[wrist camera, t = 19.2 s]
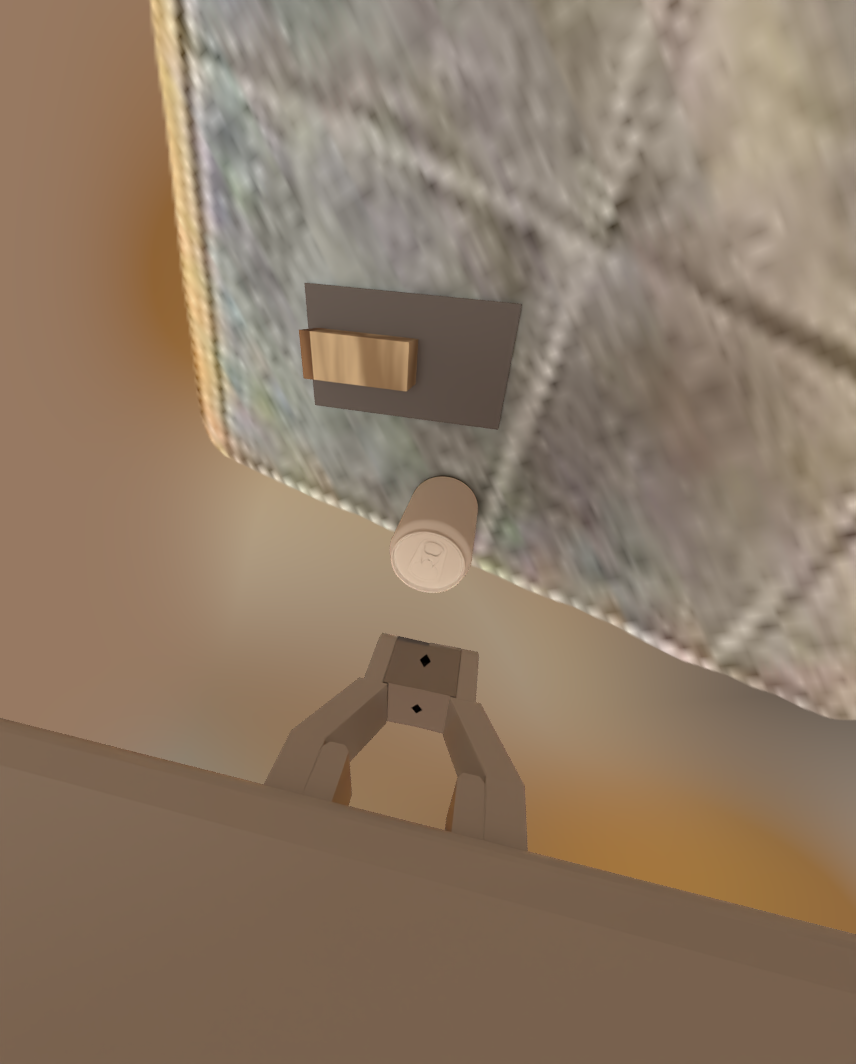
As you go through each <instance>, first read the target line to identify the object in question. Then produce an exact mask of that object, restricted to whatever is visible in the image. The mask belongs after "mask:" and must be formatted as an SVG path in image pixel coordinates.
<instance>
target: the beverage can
mask: <svg viewBox="0 0 856 1064" xmlns="http://www.w3.org/2000/svg"><path fill="white" fill-rule="evenodd" d="M477 514H478V504H477V500H476V497H475V495H474V493H473V492H472V490H471V489H470V488H469V487H468V486H467V485H466V484H464V483H463V482H461V481H459V480H457V479H454V478H451V477H434V478H431V479H428V480H426V481H424V482H423V483H421V484H420V485H419V486H418V487H417V489H416V490H415V492H414V493H413V496H412V498H411V500H410V502H409V504H408V506H407V508H406V510H405V512H404V514H403V516H402V518H401V520H400V522H399V524H398V527H397V529H396V531H395V533H394V535H393V537H392V540H391V543H390V557H391V564H392V567H393V570H394V572H395V573H396V575H397V576H398V577H399V579H400V580H401V581H402V582H404V583H405V584H406V585H408V586H410V587H411V588H413V589H416V590H419V591H422V592H428V593H438V592H444V591H447V590H449V589H451V588H453V587H454V586H456V585H457V584H458V583H459V582H460V581H461V579H462V578H463V577H464V576H465V575H466V574H467V572H468V570H469V568H470V566H471V561H472V554H473V546H474V538H475V530H476V522H477Z"/></svg>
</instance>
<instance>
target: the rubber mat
mask: <svg viewBox="0 0 856 1064" xmlns="http://www.w3.org/2000/svg"><path fill="white" fill-rule="evenodd" d="M305 293H306V305H307V317H308V328H309V329H312V328H324V329H333V330H342V331H351V332H360V333H369V334H378V335H387V336H396V337H405V338H414V339H418V354H417V370H416V384H415V385H414V386H412V387H411V388H410V389H409V390H408V391H399V390H391V389H383V388H375V387H368V386H360V385H352V384H344V383H336V382H329V381H321V380H313V386H314V397H315V405H319V406H327V407H334V408H341V409H349V410H356V411H364V412H371V413H379V414H386V415H393V416H401V417H408V418H416V419H423V420H431V421H438V422H445V423H453V424H460V425H468V426H475V427H482V428H490V429H497V430H498V427H499V422H500V416H501V411H502V406H503V401H504V395H505V390H506V385H507V380H508V375H509V369H510V364H511V359H512V354H513V348H514V343H515V338H516V333H517V327H518V322H519V317H520V312H521V306H522V304H515V303H505V302H494V301H484V300H474V299H464V298H453V297H443V296H433V295H423V294H412V293H402V292H392V291H382V290H372V289H361V288H351V287H341V286H331V285H320V284H310V283H305Z"/></svg>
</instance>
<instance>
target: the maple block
mask: <svg viewBox="0 0 856 1064" xmlns="http://www.w3.org/2000/svg"><path fill="white" fill-rule="evenodd" d="M299 336H300V346H301V356H302V366H303V376H304V378H305V379H313V380H321V381H329V382H336V383H344V384H352V385H360V386H368V387H375V388H383V389H391V390H399V391H408V390H409V389H410V388H411V387H412V386H414V385H415V384H416V370H417V354H418V339H414V338H405V337H396V336H387V335H378V334H369V333H360V332H351V331H342V330H333V329H324V328H312V329H303V330H299Z"/></svg>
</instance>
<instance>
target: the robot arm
mask: <svg viewBox="0 0 856 1064" xmlns="http://www.w3.org/2000/svg"><path fill="white" fill-rule="evenodd" d="M478 659H479V654H478V652H475V651H470V650H465V649H461V648H456V647H450V646H446V645H440V644H435V643H426V642H422V641H417V640H413V639H409V638H404V637H400V636H395V635H390V634H385V633H382V634H381V636H380V637H379V640H378V642H377V645H376V648H375V651H374V653H373V656H372V658H371V661H370V664H369V667H368V669H367V672H366V674H365V677H364V678H358V679H357V680H356V681H354V682H353V683H352V684H350V685H349V686H348V687H347V688H345V689H344V690H343V691H341V692H340V693H339V694H337V695H336V696H335V697H334V698H332V699H331V700H330V701H328V702H327V703H326V704H325V705H323V706H322V707H321V708H319V709H318V710H317V711H316V712H314V713H313V714H312V715H310V716H309V717H308V718H307V719H305V720H304V721H303V722H301V723H300V724H299V725H298V726H296V727H295V728H294V729H292V730H291V732H290V734H289V736H288V738H287V740H286V742H285V744H284V746H283V747H282V750H281V752H280V754H279V755H278V758H277V759H276V761H275V763H274V765H273V767H272V769H271V771H270V773H269V775H268V777H267V779H266V781H265V783H264V784H260V783H256V782H252V781H248V780H244V779H240V778H236V777H232V776H228V775H224V774H220V773H216V772H212V771H208V770H204V769H200V768H197V767H193V766H188V765H185V764H181V763H177V762H173V761H168V760H165V759H160V758H157V757H153V756H149V755H145V754H141V753H137V752H133V751H129V750H125V749H121V748H117V747H113V746H110V745H105V744H101V743H97V742H93V741H90V740H85V739H82V738H78V737H74V736H70V735H66V734H62V733H58V732H54V731H50V730H46V729H42V728H38V727H34V726H30V725H26V724H22V723H18V722H14V721H10V720H6V719H2V718H0V1064H856V934H852V933H848V932H844V931H840V930H836V929H832V928H828V927H824V926H820V925H817V924H813V923H809V922H805V921H801V920H797V919H793V918H789V917H785V916H781V915H777V914H773V913H769V912H765V911H761V910H757V909H753V908H749V907H745V906H742V905H738V904H734V903H730V902H726V901H722V900H718V899H714V898H710V897H706V896H702V895H698V894H694V893H690V892H686V891H682V890H678V889H674V888H670V887H667V886H663V885H659V884H655V883H651V882H647V881H643V880H639V879H634V878H631V877H627V876H623V875H619V874H615V873H611V872H607V871H603V870H599V869H596V868H592V867H587V866H584V865H580V864H575V863H572V862H568V861H564V860H560V859H556V858H552V857H548V856H544V855H540V854H536V853H532V852H528V850H527V849H528V848H527V828H526V805H525V786H524V784H523V782H522V780H521V778H520V776H519V774H518V772H517V771H516V769H515V767H514V765H513V763H512V761H511V759H510V757H509V756H508V754H507V752H506V750H505V748H504V746H503V744H502V743H501V741H500V739H499V737H498V735H497V733H496V731H495V729H494V728H493V726H492V724H491V722H490V720H489V718H488V716H487V714H486V713H485V711H484V709H483V707H482V705H481V704H480V703H477V702H476V689H477V675H478ZM386 721H390V722H394V723H400V724H405V725H410V726H415V727H419V728H423V729H427V730H431V731H435V732H439V733H443V737H444V740H445V743H446V746H447V748H448V751H449V754H450V757H451V760H452V762H453V765H454V768H455V771H456V774H457V777H458V778H457V781H456V785H455V788H454V792H453V795H452V799H451V803H450V806H449V810H448V813H447V817H446V824H445V830H442V829H438V828H434V827H430V826H426V825H422V824H418V823H414V822H410V821H406V820H402V819H398V818H394V817H390V816H386V815H382V814H378V813H374V812H370V811H366V810H363V809H358V808H355V807H351V806H349V803H350V799H351V796H352V791H351V790H352V789H351V777H350V761H351V760H352V759H353V758H354V757H355V756H356V755H357V754H358V753H359V752H360V751H361V750H362V748H363V747H364V746H365V745H366V744H367V743H368V742H369V741H370V740H371V739H372V738H373V737H374V736H375V735H376V734H377V732H378V731H379V730H380V729H381V728H382V727H383V726H384V725H385V724H386Z"/></svg>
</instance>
